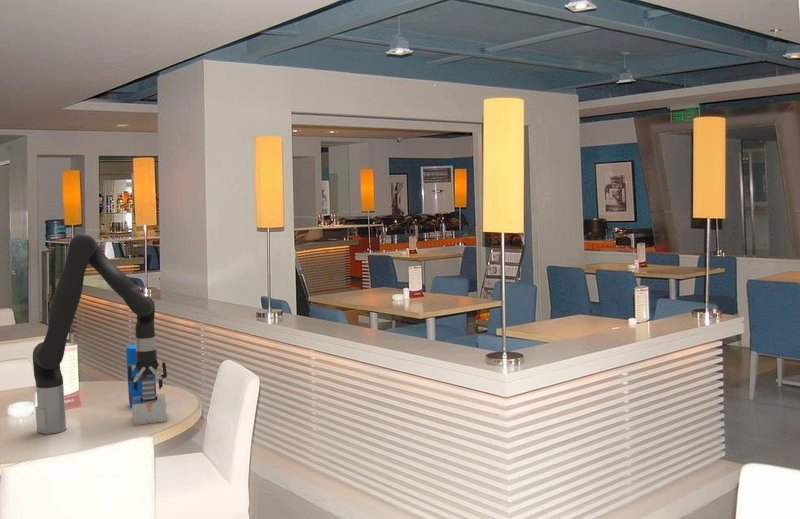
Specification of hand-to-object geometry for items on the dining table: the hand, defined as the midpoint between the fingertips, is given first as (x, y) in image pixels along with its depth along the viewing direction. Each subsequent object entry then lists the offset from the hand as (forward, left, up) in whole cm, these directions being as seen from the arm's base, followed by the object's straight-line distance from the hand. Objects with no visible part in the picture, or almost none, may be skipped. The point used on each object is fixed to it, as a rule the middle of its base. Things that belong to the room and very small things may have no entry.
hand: (148, 389), depth 304 cm
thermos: (+10, +19, -12) cm, 24 cm away
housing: (0, 0, -12) cm, 12 cm away
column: (0, 0, -12) cm, 12 cm away
